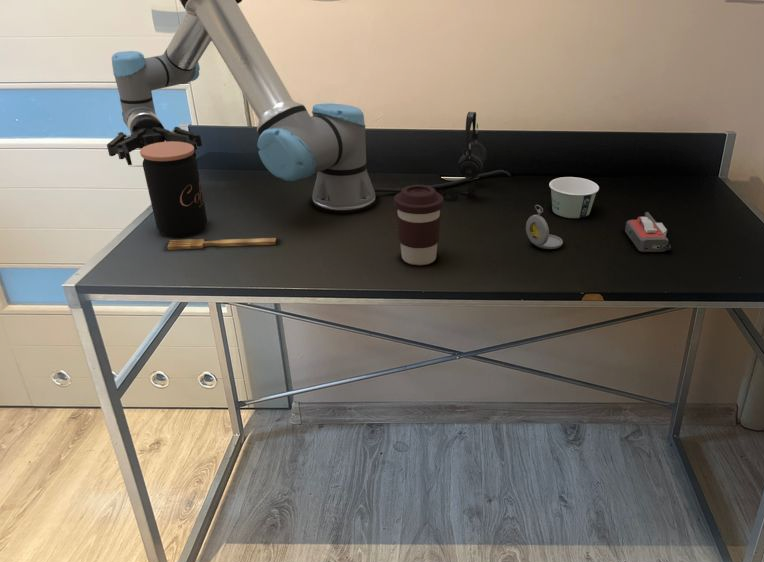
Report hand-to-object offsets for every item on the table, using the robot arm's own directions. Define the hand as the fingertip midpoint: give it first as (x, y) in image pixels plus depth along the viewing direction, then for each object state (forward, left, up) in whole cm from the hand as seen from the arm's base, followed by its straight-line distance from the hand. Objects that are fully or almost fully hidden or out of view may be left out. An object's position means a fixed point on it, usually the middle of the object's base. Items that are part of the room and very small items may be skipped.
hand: (161, 155), depth 156 cm
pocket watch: (-82, +25, -14) cm, 87 cm away
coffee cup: (-54, +29, -14) cm, 63 cm away
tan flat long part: (-13, +19, -14) cm, 27 cm away
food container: (-94, +6, -14) cm, 96 cm away
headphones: (-69, -9, -14) cm, 71 cm away
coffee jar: (-4, +9, -14) cm, 17 cm away
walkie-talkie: (-107, +22, -14) cm, 111 cm away
